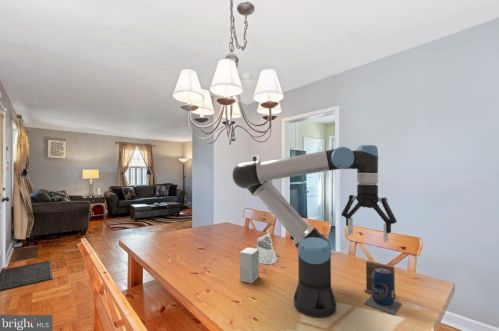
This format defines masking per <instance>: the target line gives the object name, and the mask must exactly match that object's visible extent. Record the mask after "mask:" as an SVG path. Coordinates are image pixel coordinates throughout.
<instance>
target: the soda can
mask: <svg viewBox="0 0 499 331" xmlns="http://www.w3.org/2000/svg"><path fill="white" fill-rule="evenodd" d="M372 298H373V300H374V301H375V303H376V304H378V305H380V306H384V307H389V306H391V305H392V304H393V302H394V300H395V299H394V297H393V275H392V273H391V271H390V270H389V269H386V268H382V267H376V268H374V271H373V272H372Z"/></svg>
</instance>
